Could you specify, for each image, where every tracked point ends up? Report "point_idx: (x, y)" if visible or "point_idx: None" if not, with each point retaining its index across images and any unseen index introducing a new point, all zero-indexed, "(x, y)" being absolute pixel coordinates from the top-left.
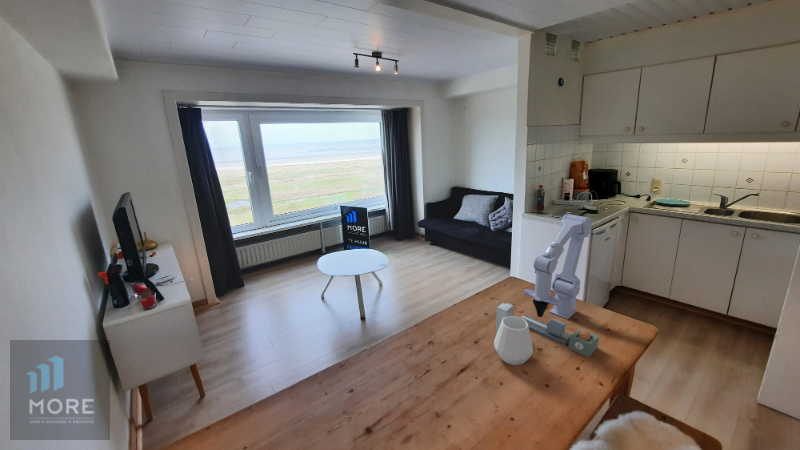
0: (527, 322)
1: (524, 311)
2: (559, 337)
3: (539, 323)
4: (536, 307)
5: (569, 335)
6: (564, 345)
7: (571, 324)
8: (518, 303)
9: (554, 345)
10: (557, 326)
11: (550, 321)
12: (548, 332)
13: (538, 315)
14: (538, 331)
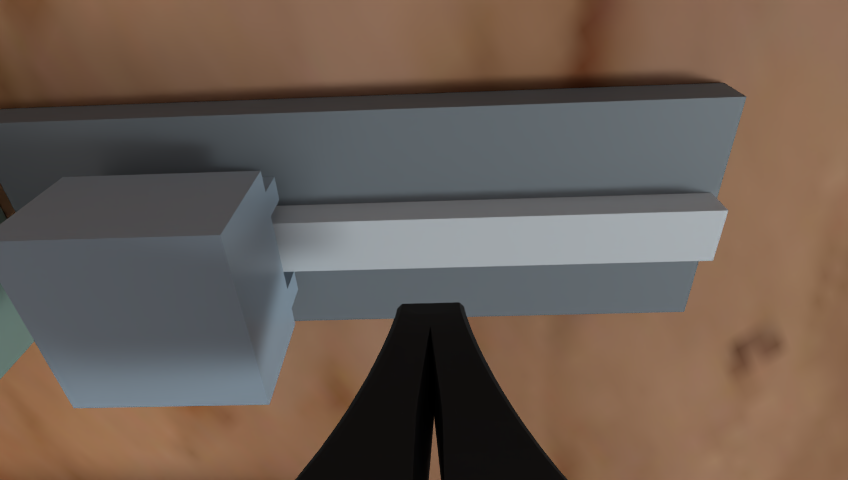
0: (593, 187)
1: (720, 374)
2: None
3: (436, 252)
4: (504, 452)
5: None
6: (4, 109)
7: (267, 458)
8: (826, 445)
9: (59, 6)
10: (57, 273)
11: (233, 320)
12: None
13: (439, 315)
14: (368, 108)
